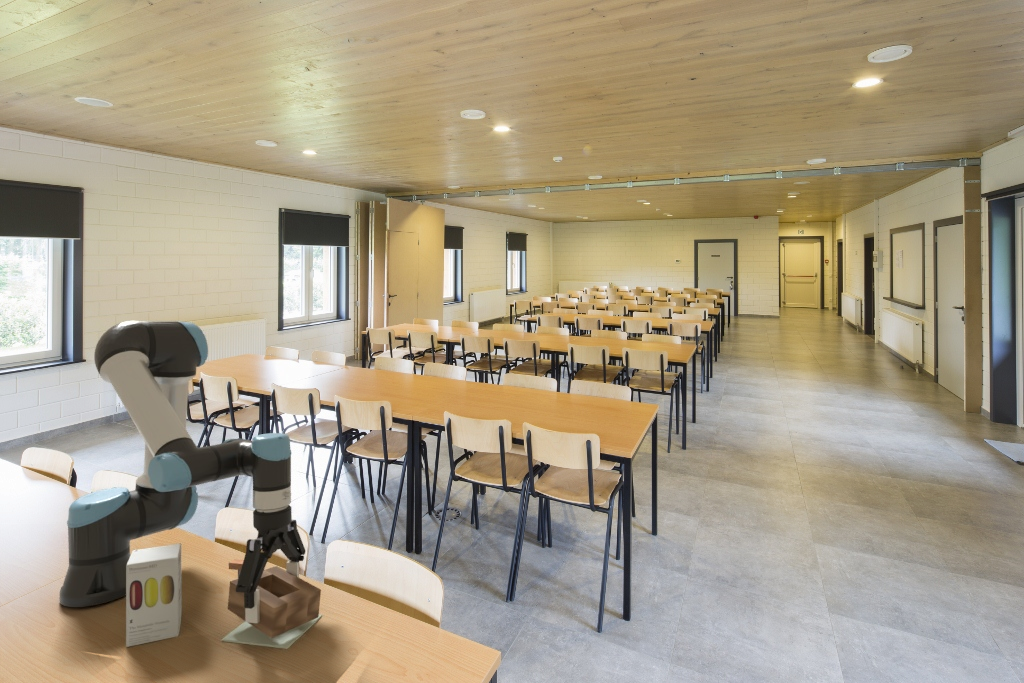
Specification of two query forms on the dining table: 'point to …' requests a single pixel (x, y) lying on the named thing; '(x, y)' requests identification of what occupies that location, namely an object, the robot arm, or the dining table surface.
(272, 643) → the mat
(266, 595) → the brown hollow elongated block
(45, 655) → the dining table surface
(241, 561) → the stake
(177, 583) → the supplement box
